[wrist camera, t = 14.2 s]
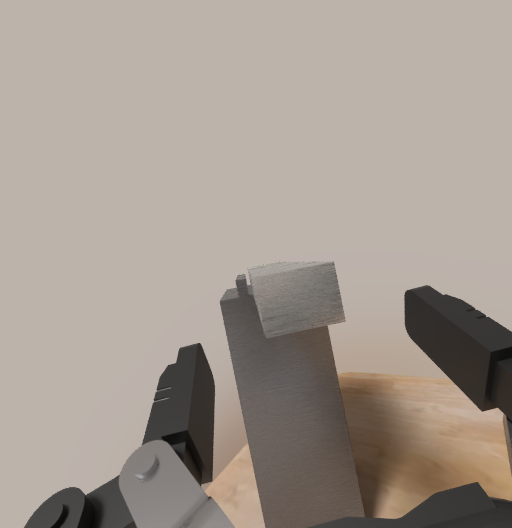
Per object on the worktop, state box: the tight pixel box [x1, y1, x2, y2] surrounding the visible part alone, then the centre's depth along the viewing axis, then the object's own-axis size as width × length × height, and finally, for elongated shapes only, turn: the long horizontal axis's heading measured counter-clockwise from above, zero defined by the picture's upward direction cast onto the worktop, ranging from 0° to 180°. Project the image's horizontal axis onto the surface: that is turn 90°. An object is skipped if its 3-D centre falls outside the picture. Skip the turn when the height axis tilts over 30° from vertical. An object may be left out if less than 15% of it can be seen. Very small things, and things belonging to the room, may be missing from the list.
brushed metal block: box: [248, 262, 345, 338], centre depth 25 cm, size 22×4×3 cm, turn 3°
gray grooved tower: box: [220, 274, 365, 528], centre depth 41 cm, size 14×12×34 cm
